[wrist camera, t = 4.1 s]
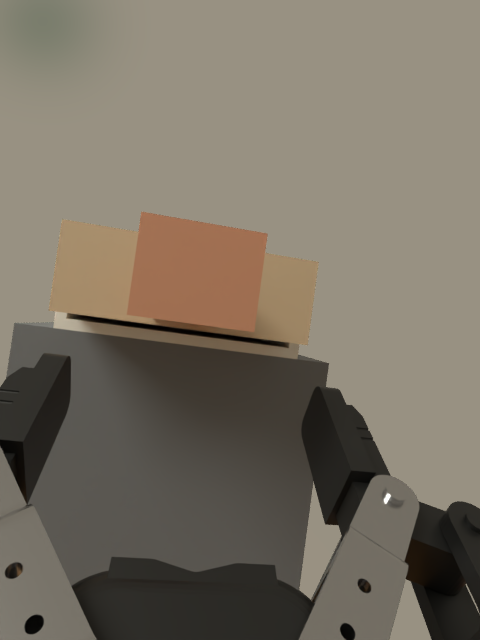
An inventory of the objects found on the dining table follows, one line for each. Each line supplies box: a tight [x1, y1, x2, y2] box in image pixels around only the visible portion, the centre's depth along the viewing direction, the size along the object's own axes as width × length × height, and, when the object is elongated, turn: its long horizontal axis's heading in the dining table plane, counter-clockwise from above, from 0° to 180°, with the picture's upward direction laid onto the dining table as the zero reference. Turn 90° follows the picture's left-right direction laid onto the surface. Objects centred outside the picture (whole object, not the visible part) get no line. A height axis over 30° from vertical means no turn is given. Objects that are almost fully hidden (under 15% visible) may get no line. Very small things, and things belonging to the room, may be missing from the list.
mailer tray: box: [49, 212, 319, 345], centre depth 21 cm, size 12×22×4 cm, turn 9°
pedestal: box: [6, 322, 329, 590], centre depth 30 cm, size 18×14×30 cm
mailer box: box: [53, 312, 299, 359], centre depth 30 cm, size 14×14×6 cm
